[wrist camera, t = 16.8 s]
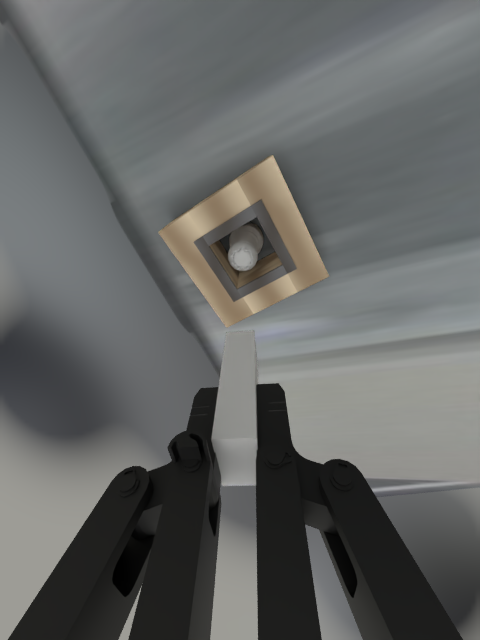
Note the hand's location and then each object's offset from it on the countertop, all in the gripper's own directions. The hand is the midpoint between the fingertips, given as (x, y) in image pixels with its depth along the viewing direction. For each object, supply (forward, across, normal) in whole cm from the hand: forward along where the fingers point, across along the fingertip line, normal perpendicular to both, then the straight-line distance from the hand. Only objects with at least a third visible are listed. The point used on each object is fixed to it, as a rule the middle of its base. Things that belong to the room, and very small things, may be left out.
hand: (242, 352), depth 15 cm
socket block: (+24, 0, 0) cm, 24 cm away
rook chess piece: (+24, 0, 0) cm, 24 cm away
